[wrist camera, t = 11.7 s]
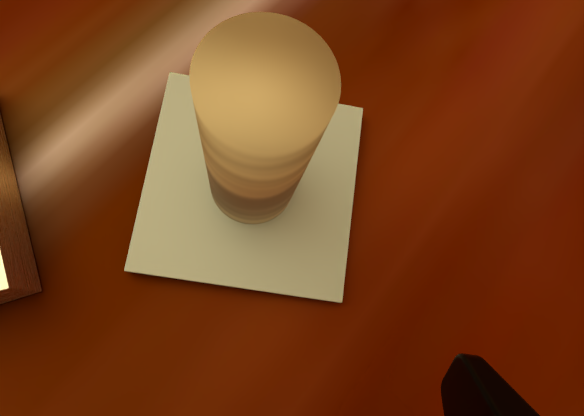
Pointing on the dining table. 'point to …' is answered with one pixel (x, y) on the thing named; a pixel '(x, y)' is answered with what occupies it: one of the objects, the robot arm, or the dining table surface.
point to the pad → (239, 236)
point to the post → (261, 109)
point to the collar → (14, 235)
